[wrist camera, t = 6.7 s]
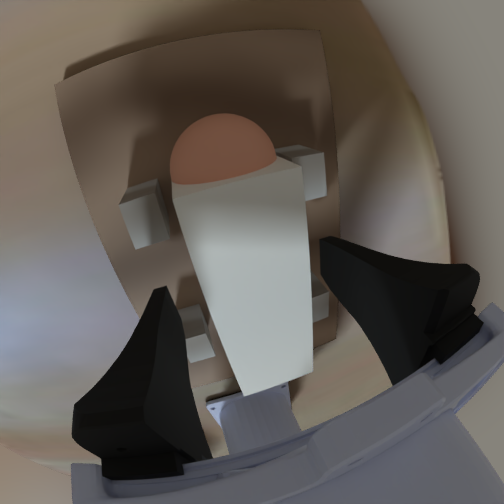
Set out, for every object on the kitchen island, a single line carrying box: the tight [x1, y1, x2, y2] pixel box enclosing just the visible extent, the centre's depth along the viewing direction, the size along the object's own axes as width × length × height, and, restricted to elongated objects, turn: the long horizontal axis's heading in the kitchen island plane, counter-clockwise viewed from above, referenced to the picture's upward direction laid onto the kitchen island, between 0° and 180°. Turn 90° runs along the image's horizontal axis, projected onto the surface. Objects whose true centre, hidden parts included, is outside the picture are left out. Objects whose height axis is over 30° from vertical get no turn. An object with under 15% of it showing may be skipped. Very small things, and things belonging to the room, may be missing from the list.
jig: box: [54, 29, 340, 388], centre depth 14 cm, size 22×13×4 cm, turn 10°
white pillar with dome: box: [170, 113, 313, 396], centre depth 12 cm, size 13×4×5 cm, turn 10°
